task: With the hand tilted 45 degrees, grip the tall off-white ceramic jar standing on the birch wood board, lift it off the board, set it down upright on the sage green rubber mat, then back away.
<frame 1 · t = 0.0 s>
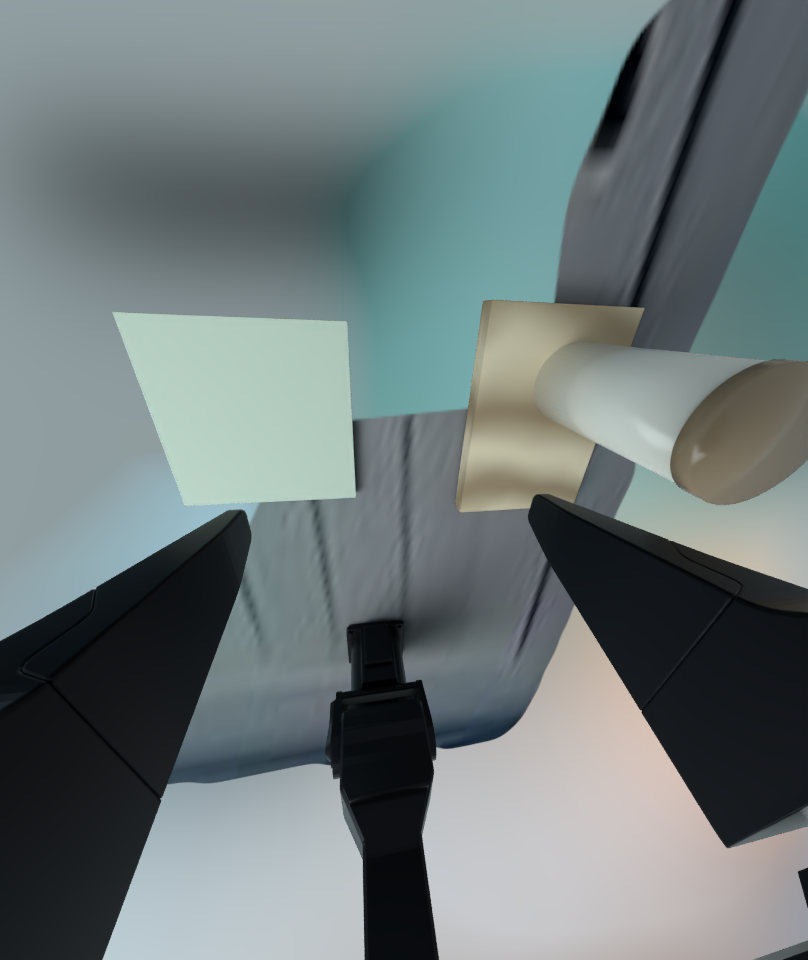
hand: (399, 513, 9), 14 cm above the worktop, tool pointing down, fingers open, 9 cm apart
board: (530, 417, 24), on the worktop
mat: (260, 420, 21), on the worktop
jar: (569, 383, 22), point 1 cm above the worktop, touching board
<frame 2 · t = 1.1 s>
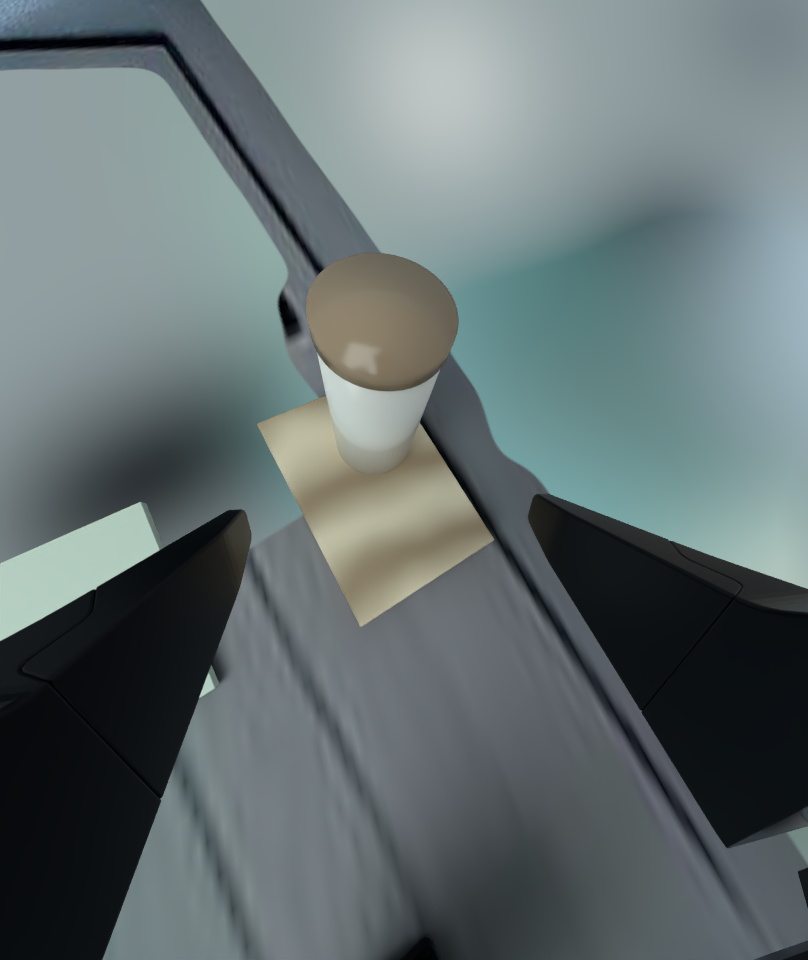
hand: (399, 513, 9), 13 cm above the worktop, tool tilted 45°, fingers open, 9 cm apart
board: (374, 487, 23), on the worktop
mat: (67, 648, 18), on the worktop
jar: (373, 439, 23), point 1 cm above the worktop, touching board
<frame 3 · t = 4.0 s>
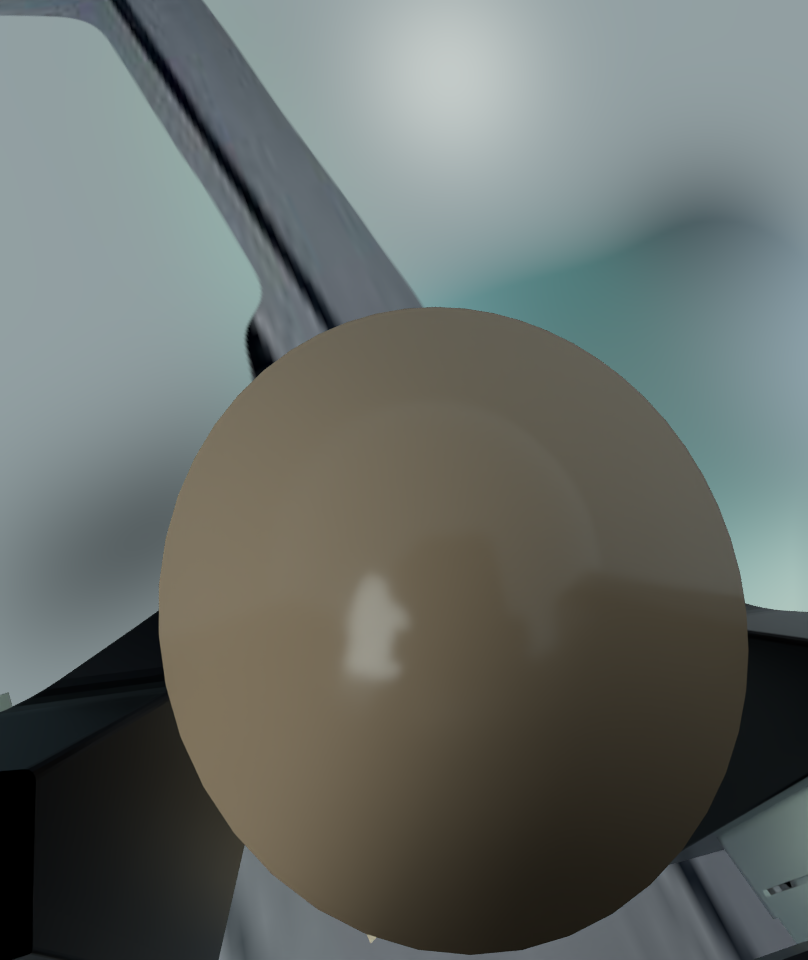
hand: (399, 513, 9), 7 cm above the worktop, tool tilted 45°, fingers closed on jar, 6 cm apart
jar: (387, 562, 14), point 1 cm above the worktop, touching board, gripper
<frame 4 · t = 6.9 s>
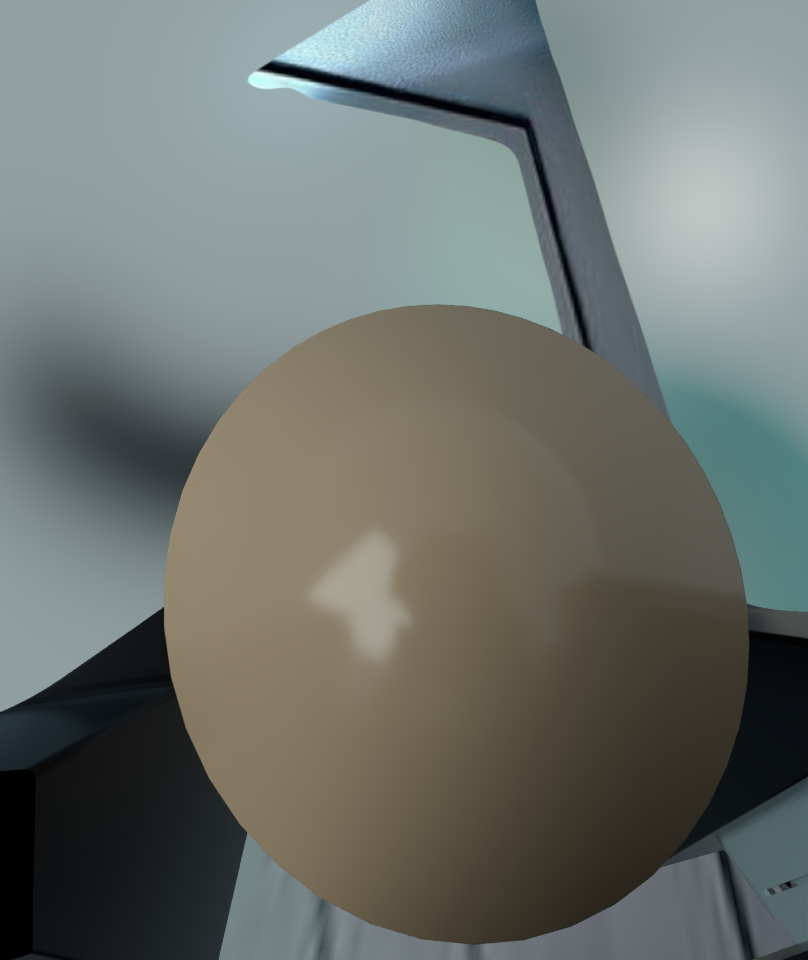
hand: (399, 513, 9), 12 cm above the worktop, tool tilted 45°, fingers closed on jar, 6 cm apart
jar: (388, 561, 14), point 7 cm above the worktop, touching gripper
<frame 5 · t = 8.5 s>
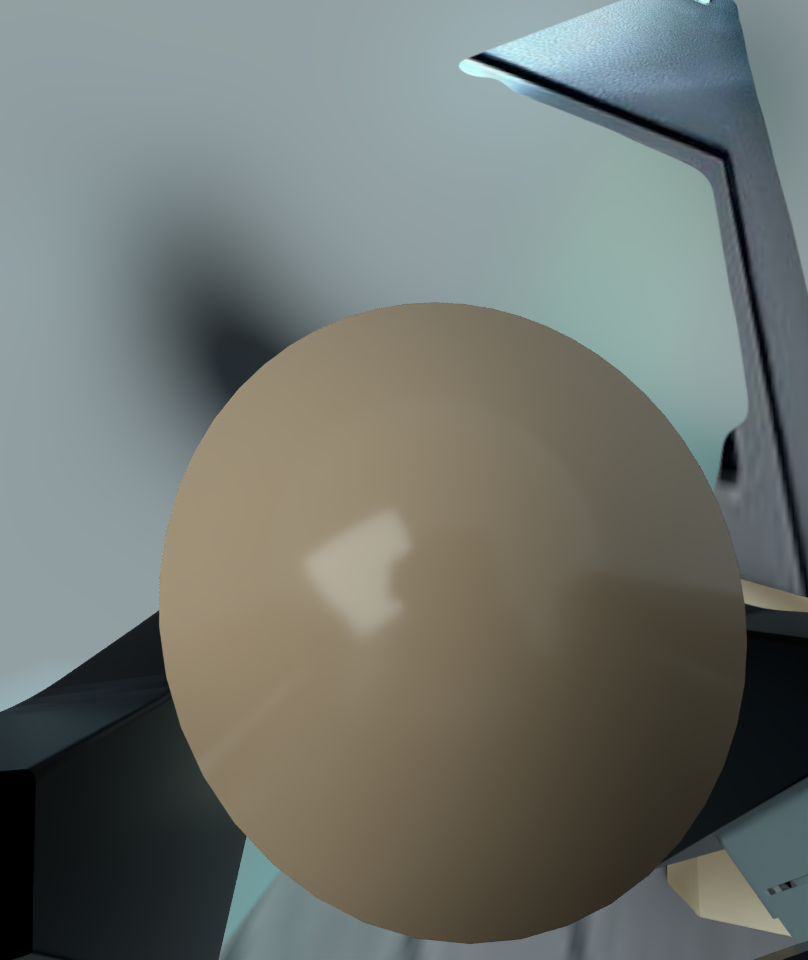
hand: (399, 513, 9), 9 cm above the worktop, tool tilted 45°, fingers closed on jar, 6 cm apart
board: (747, 722, 18), on the worktop
jar: (387, 561, 14), point 3 cm above the worktop, touching gripper
when the fingers open (7 cm above the worktop, at t = 9.7 s): jar drops 1 cm, resting on mat.
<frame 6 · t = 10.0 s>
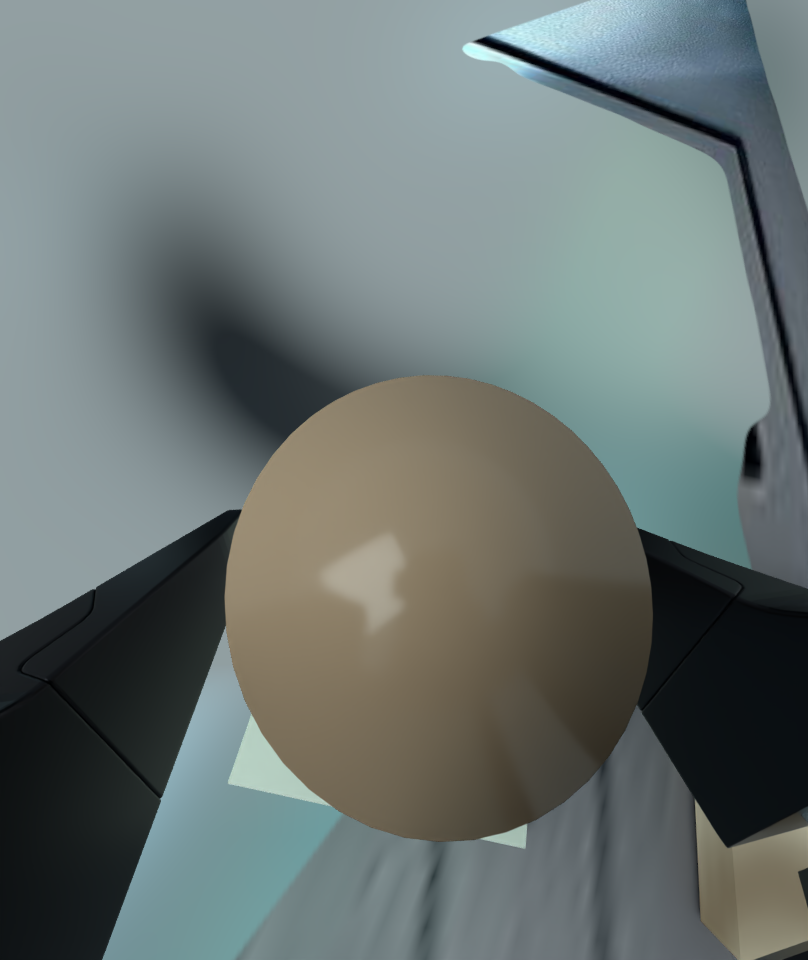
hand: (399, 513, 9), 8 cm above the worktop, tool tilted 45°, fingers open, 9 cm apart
board: (782, 738, 16), on the worktop
mat: (413, 645, 15), on the worktop
jar: (386, 563, 15), point 1 cm above the worktop, touching mat
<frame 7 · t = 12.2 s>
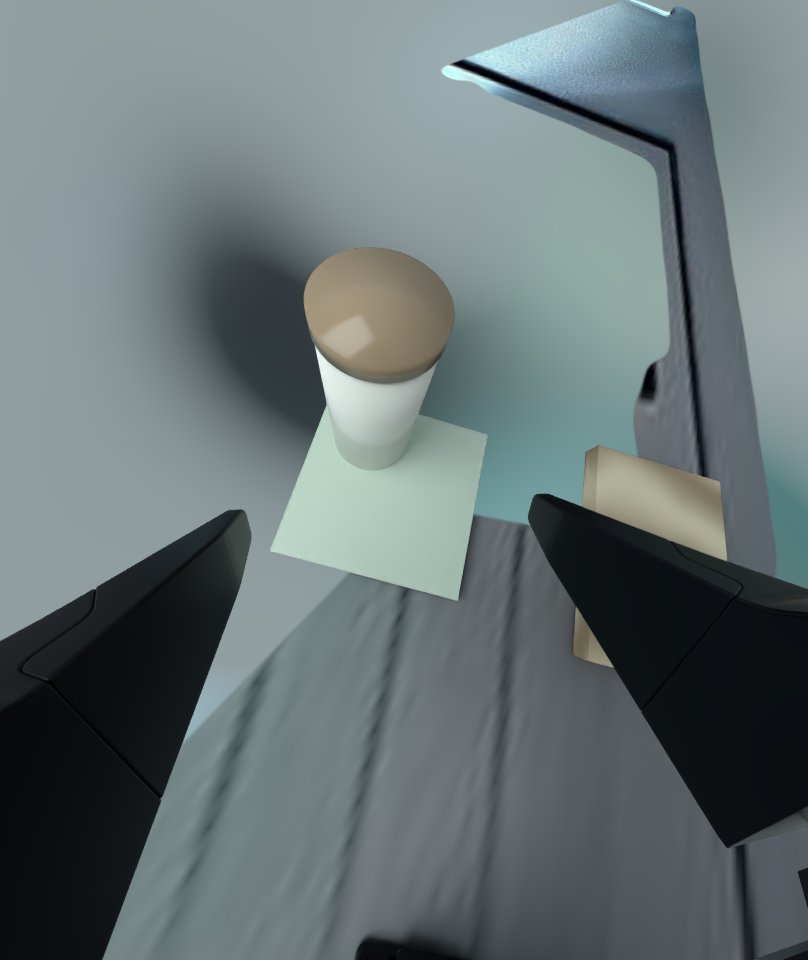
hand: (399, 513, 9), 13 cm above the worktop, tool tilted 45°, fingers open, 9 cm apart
board: (644, 560, 24), on the worktop
mat: (389, 488, 22), on the worktop
jar: (371, 436, 23), point 1 cm above the worktop, touching mat
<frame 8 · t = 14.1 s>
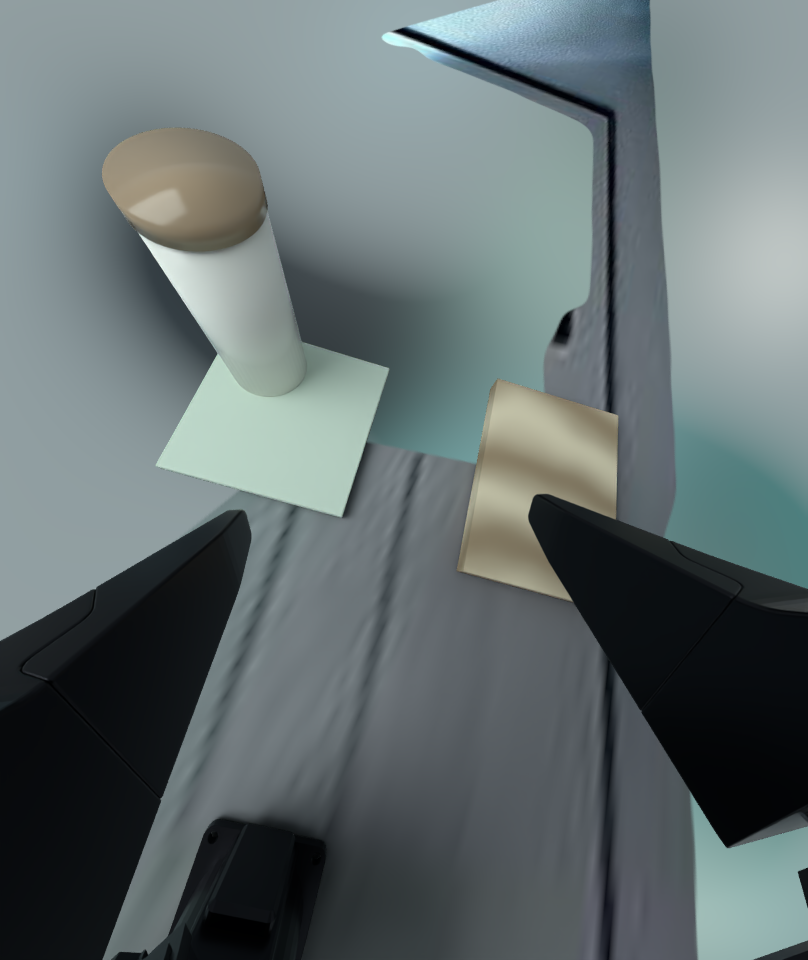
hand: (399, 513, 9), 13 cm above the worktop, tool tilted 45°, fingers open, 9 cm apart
board: (539, 488, 24), on the worktop
mat: (286, 415, 23), on the worktop
jar: (270, 365, 23), point 1 cm above the worktop, touching mat
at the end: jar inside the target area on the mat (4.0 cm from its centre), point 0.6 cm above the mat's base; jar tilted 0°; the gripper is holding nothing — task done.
